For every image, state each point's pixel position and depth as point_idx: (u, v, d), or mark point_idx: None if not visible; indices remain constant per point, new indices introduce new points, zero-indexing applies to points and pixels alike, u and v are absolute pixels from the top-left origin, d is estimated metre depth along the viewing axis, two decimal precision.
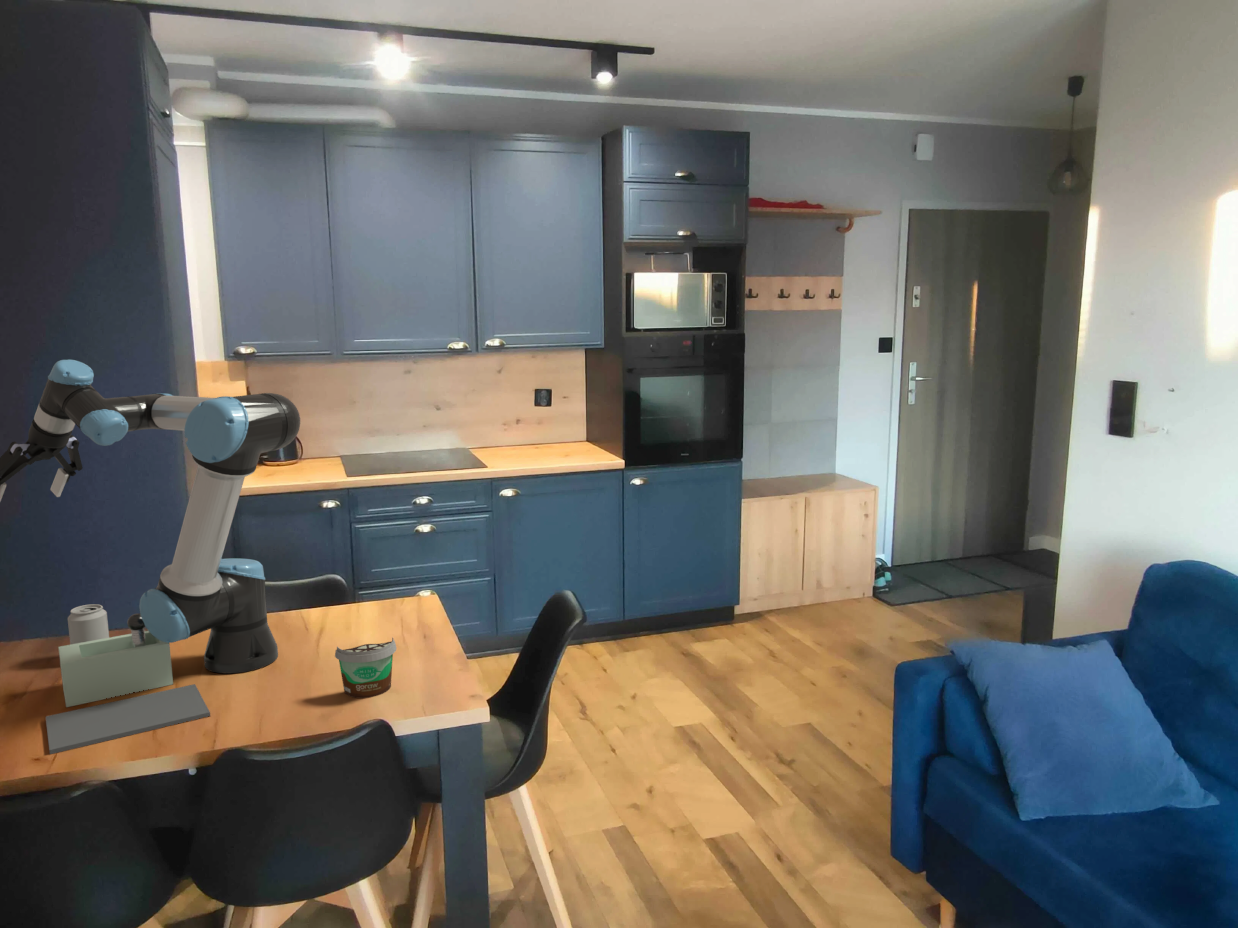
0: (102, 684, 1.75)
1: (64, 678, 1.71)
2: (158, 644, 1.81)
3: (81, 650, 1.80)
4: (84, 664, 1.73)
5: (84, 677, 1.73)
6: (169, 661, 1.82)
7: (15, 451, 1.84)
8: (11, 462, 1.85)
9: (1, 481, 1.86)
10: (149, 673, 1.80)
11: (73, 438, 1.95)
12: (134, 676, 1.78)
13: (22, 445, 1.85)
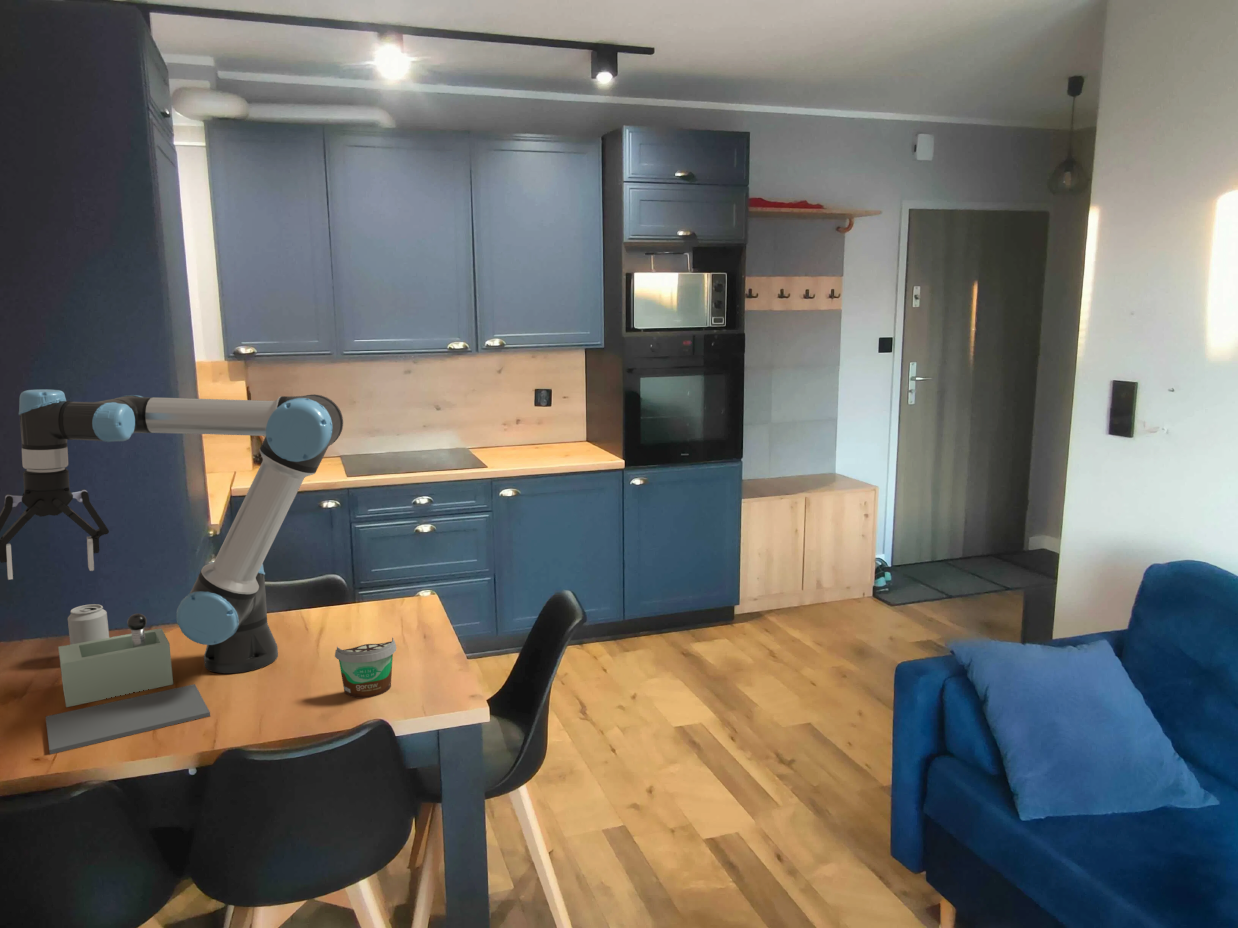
0: (102, 684, 1.75)
1: (64, 678, 1.71)
2: (158, 644, 1.81)
3: (81, 650, 1.80)
4: (84, 664, 1.73)
5: (84, 677, 1.73)
6: (169, 661, 1.82)
7: (5, 501, 1.67)
8: (4, 515, 1.67)
9: (2, 541, 1.68)
10: (149, 673, 1.80)
11: (83, 490, 1.76)
12: (134, 676, 1.78)
13: (16, 496, 1.69)
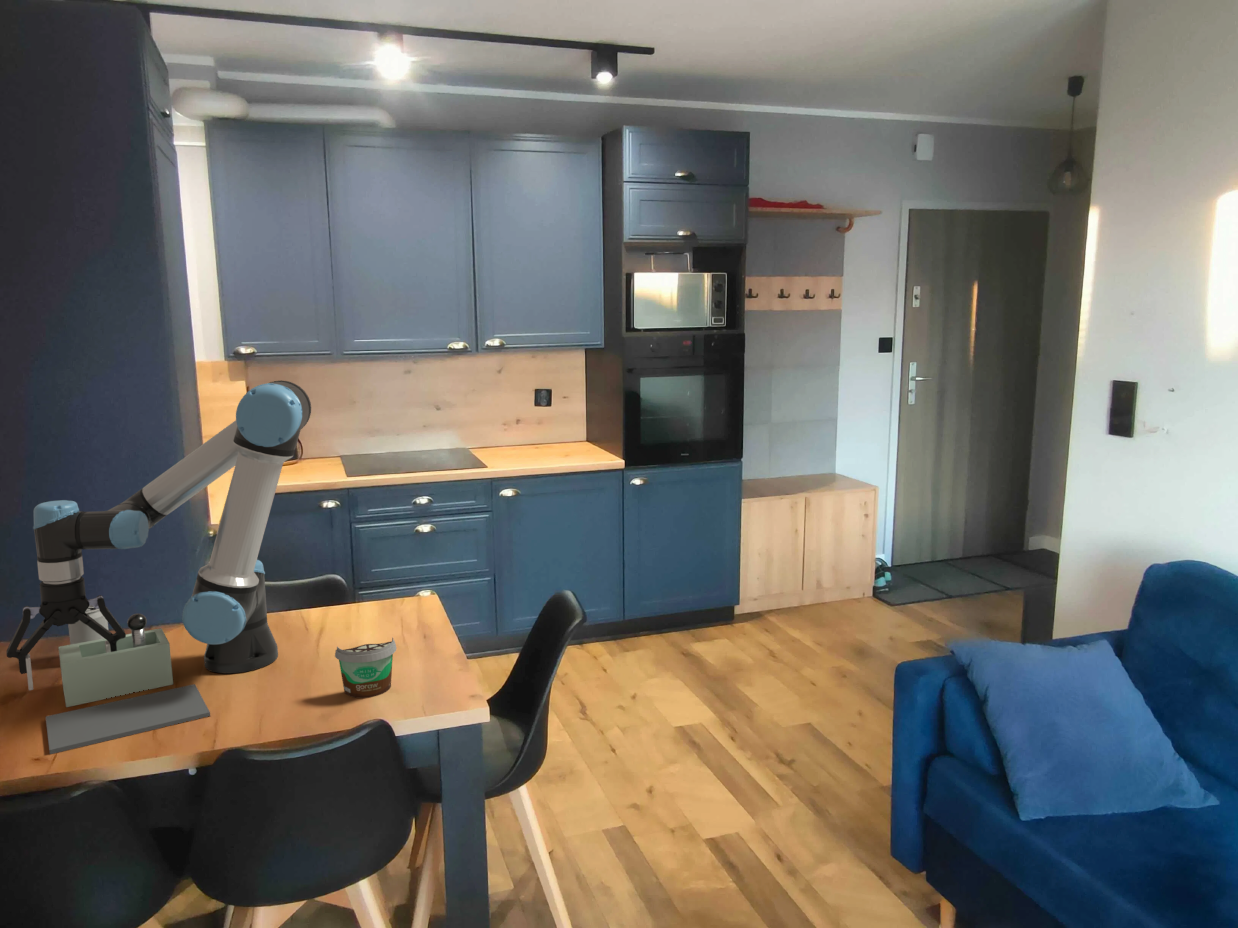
0: (102, 684, 1.75)
1: (64, 678, 1.71)
2: (158, 644, 1.81)
3: (81, 650, 1.80)
4: (84, 664, 1.73)
5: (84, 677, 1.73)
6: (169, 661, 1.82)
7: (23, 613, 1.70)
8: (23, 628, 1.70)
9: (21, 654, 1.70)
10: (149, 673, 1.80)
11: (99, 597, 1.77)
12: (134, 676, 1.78)
13: (33, 607, 1.71)
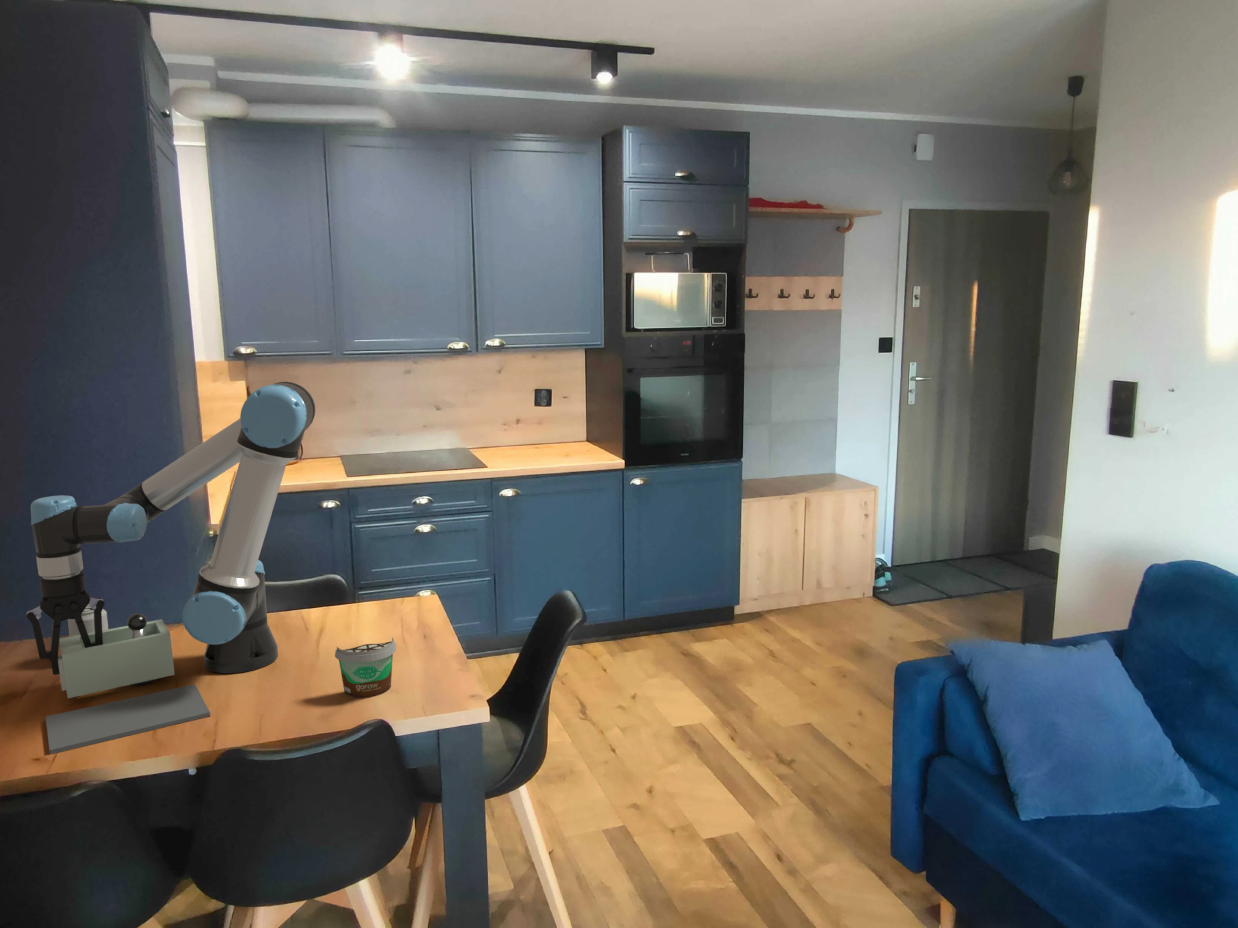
0: (103, 675, 1.75)
1: (65, 669, 1.71)
2: (159, 634, 1.80)
3: (82, 642, 1.80)
4: (84, 655, 1.72)
5: (85, 668, 1.73)
6: (170, 651, 1.81)
7: (28, 618, 1.70)
8: (37, 630, 1.71)
9: (52, 655, 1.73)
10: (150, 664, 1.79)
11: (100, 599, 1.78)
12: (135, 667, 1.78)
13: (34, 609, 1.71)
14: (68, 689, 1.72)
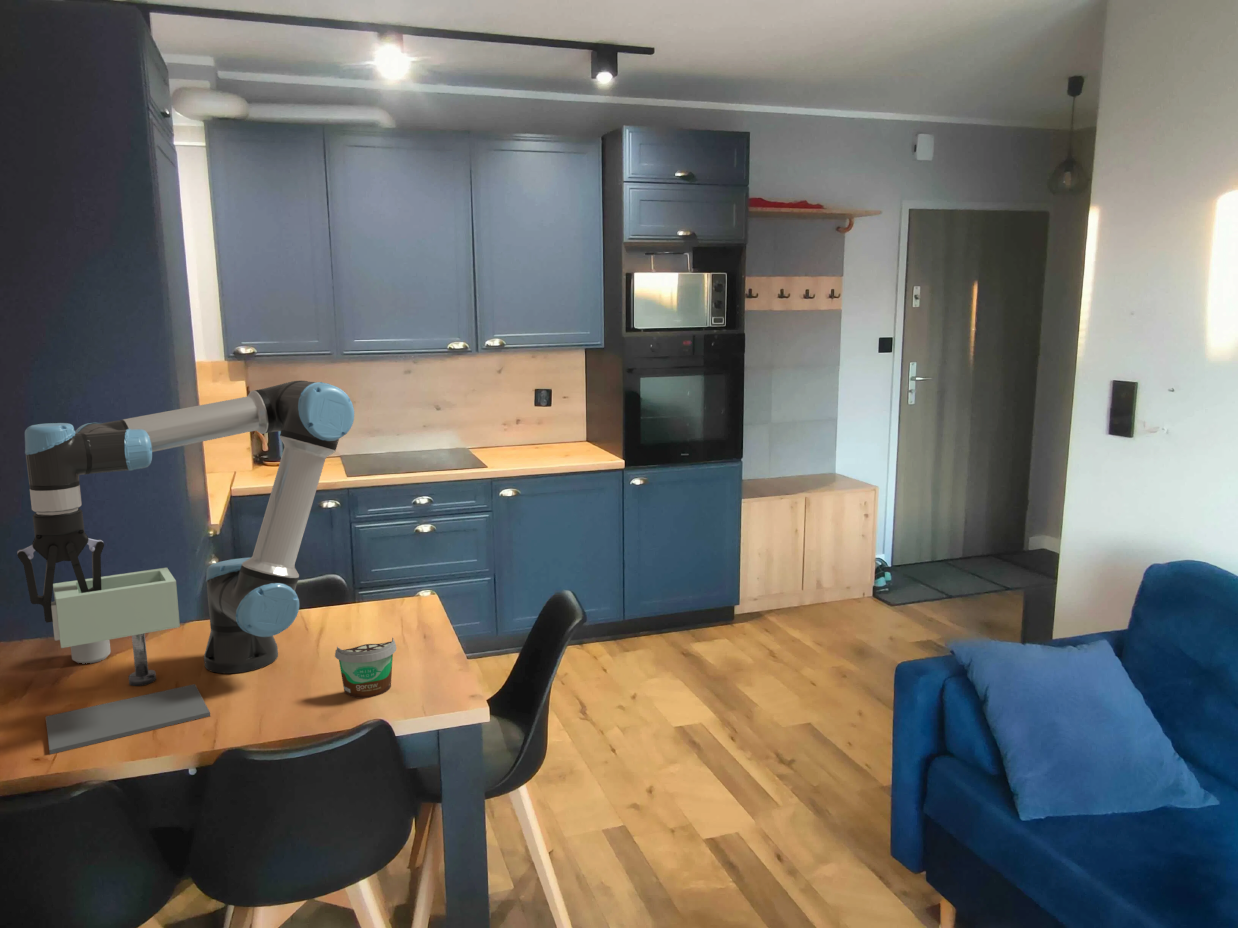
0: (101, 624, 1.57)
1: (59, 615, 1.53)
2: (163, 582, 1.63)
3: (78, 588, 1.63)
4: (81, 600, 1.55)
5: (81, 615, 1.55)
6: (175, 601, 1.64)
7: (19, 558, 1.53)
8: (29, 571, 1.54)
9: (45, 600, 1.56)
10: (153, 614, 1.62)
11: (100, 540, 1.60)
12: (137, 616, 1.61)
13: (26, 548, 1.54)
14: (62, 638, 1.54)
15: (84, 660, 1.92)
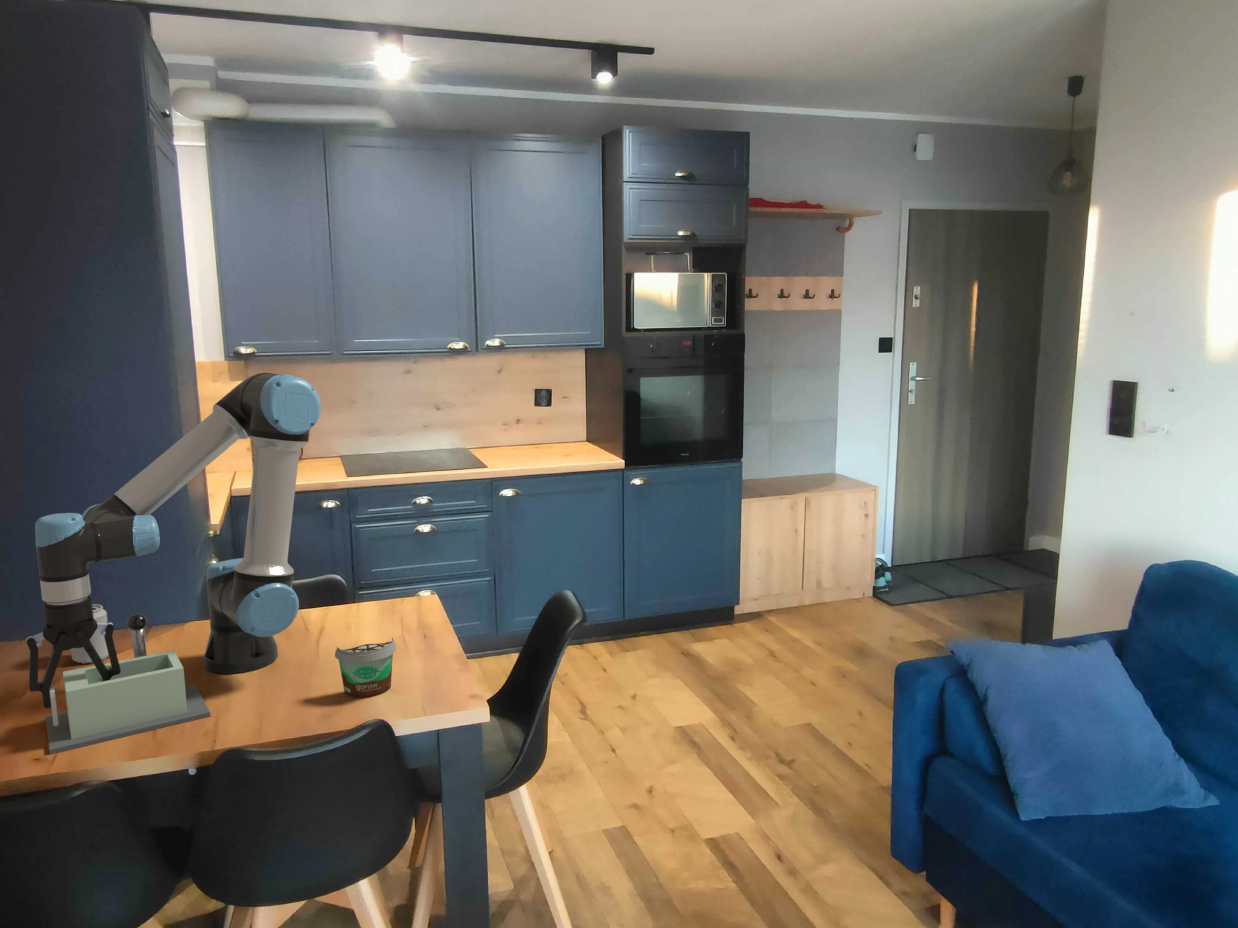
0: (110, 713, 1.60)
1: (69, 707, 1.56)
2: (171, 669, 1.66)
3: (87, 675, 1.66)
4: (90, 691, 1.58)
5: (91, 706, 1.58)
6: (183, 687, 1.67)
7: (27, 644, 1.55)
8: (34, 658, 1.56)
9: (44, 687, 1.57)
10: (161, 701, 1.65)
11: (109, 623, 1.63)
12: (145, 704, 1.63)
13: (36, 635, 1.57)
14: (72, 729, 1.57)
15: (84, 660, 1.92)
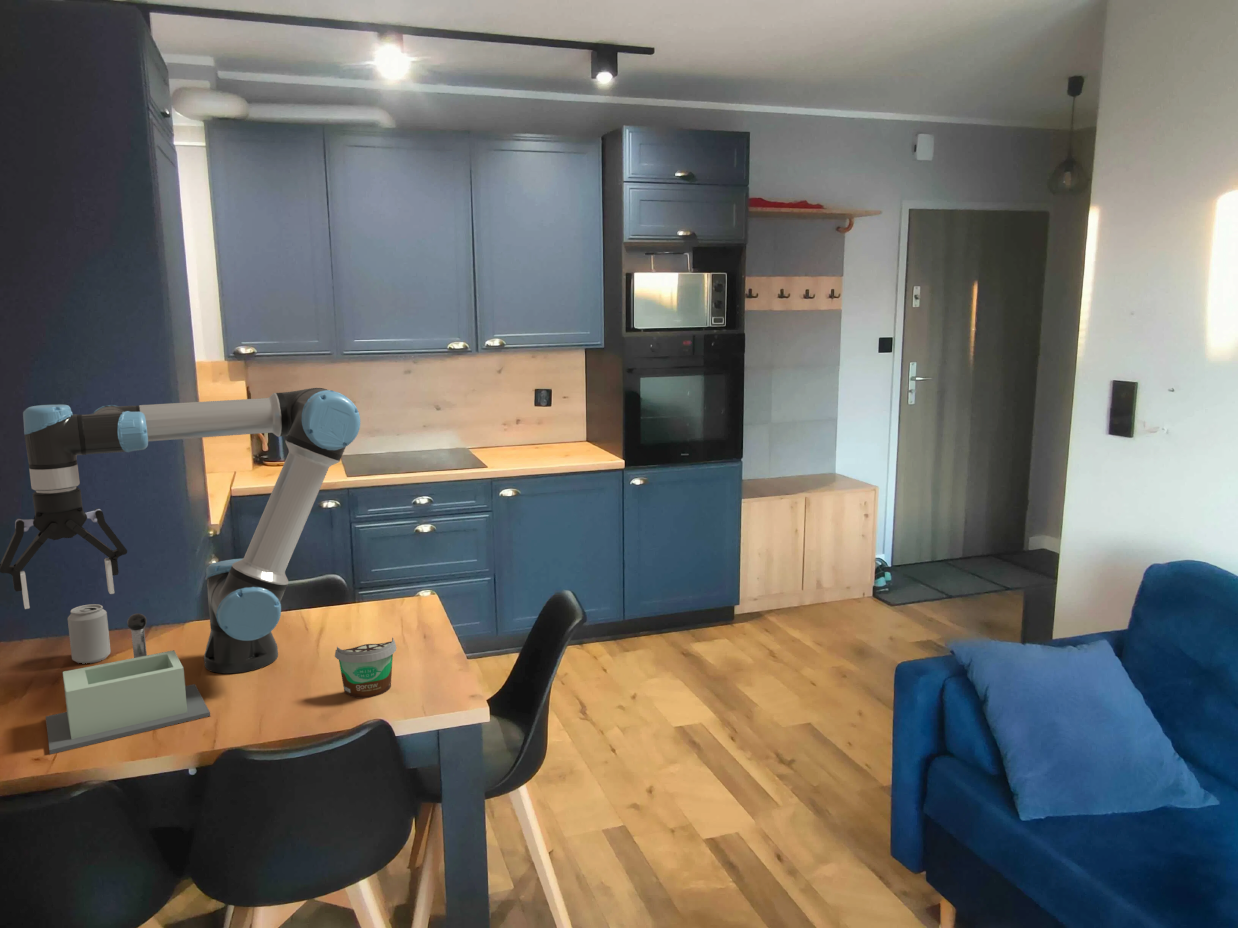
0: (110, 713, 1.60)
1: (69, 707, 1.56)
2: (171, 669, 1.66)
3: (87, 675, 1.66)
4: (90, 691, 1.58)
5: (91, 706, 1.58)
6: (183, 687, 1.67)
7: (16, 525, 1.57)
8: (16, 541, 1.57)
9: (15, 569, 1.58)
10: (161, 701, 1.65)
11: (97, 509, 1.65)
12: (145, 704, 1.63)
13: None
14: (72, 729, 1.57)
15: (84, 660, 1.92)
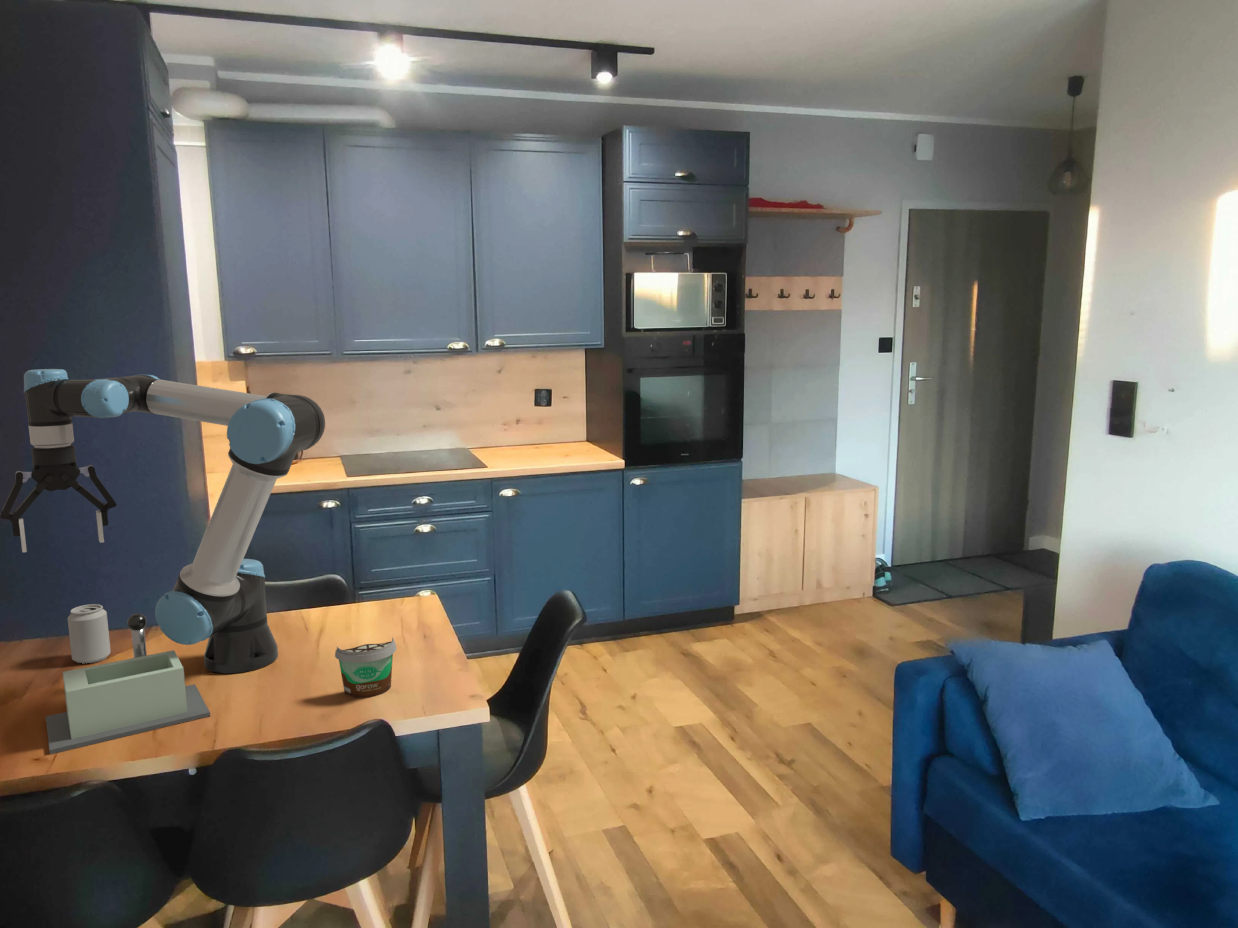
0: (110, 713, 1.60)
1: (69, 707, 1.56)
2: (171, 669, 1.66)
3: (87, 675, 1.66)
4: (90, 691, 1.58)
5: (91, 706, 1.58)
6: (183, 687, 1.67)
7: (15, 476, 1.75)
8: (15, 490, 1.75)
9: (14, 516, 1.75)
10: (161, 701, 1.65)
11: (89, 465, 1.83)
12: (145, 704, 1.63)
13: (25, 472, 1.76)
14: (72, 729, 1.57)
15: (84, 660, 1.92)
